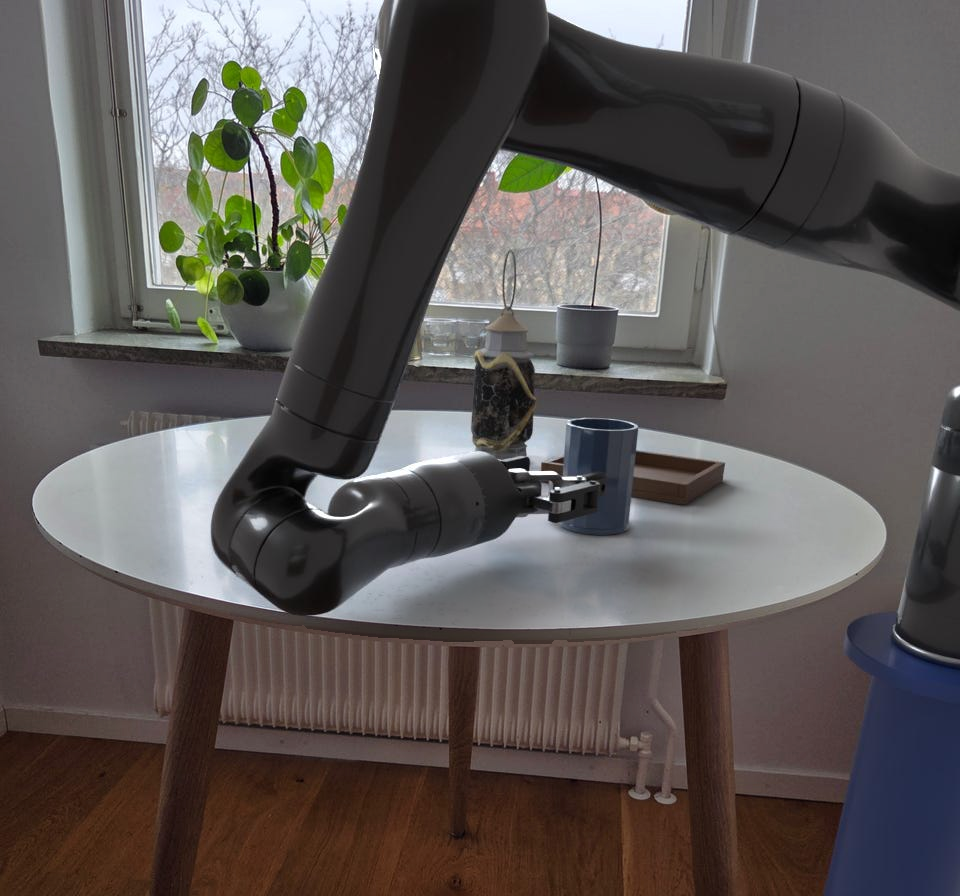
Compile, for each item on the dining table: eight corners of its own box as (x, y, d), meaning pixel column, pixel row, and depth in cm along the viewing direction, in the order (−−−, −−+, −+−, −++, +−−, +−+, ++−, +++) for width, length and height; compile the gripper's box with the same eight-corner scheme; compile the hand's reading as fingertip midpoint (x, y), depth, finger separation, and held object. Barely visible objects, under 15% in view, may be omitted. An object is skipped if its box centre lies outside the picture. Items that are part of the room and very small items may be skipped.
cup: (637, 523, 94) (648, 423, 90) (612, 539, 89) (622, 433, 85) (576, 512, 97) (584, 415, 94) (547, 527, 92) (554, 424, 88)
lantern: (464, 453, 123) (471, 248, 113) (524, 453, 125) (536, 250, 115) (476, 468, 115) (484, 248, 106) (540, 468, 117) (554, 251, 107)
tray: (722, 481, 114) (725, 462, 113) (684, 505, 102) (686, 484, 101) (590, 461, 122) (591, 443, 121) (539, 481, 110) (541, 462, 109)
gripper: (519, 473, 69) (633, 446, 81) (383, 444, 77) (504, 423, 89) (514, 570, 72) (625, 529, 84) (383, 531, 80) (501, 500, 92)
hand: (563, 474), depth 86 cm, fingers open, 8 cm apart
